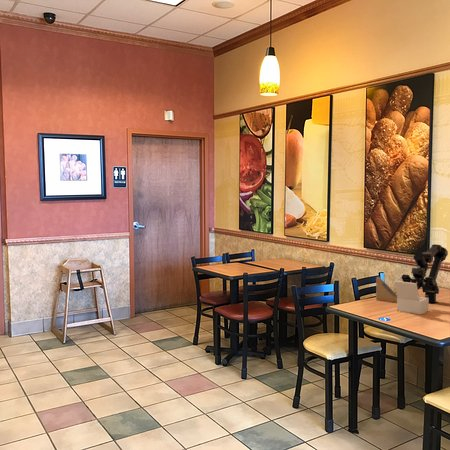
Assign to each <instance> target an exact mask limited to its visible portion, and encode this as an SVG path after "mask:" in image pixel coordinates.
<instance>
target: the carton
mask: <svg viewBox="0 0 450 450" xmlns="http://www.w3.org/2000/svg"><path fill="white" fill-rule="evenodd" d="M419 299H420V301H415V300H408V299H401V298H397V302H396V312H399V311H400V312H401V313H405V312H406V314H413V315H418V316H422V315H423V314H426V313H427V312H429V305H430V303H429V298H428V297H425V296H420V295H419Z"/></svg>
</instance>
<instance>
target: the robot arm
mask: <svg viewBox="0 0 450 450" xmlns="http://www.w3.org/2000/svg"><path fill="white" fill-rule="evenodd" d="M448 252H449V251H448V250H447V248H446V247H444V246H442V245H441V244H434V243H433V244H432V245H431V247H429V249H428V250H426V251H425V252H422V251H418V252H417V253H415V254H414V255H413V261H414V263H415V265H416V266H417V267H412V268H411V274H412V276H410V274H406V273H405V274H404V273H403V274H402V275H401V277H400V278H401V280H402V282H409V283H417V288H418V290H420V289H422V290H421V291H422V293H425V294H424V297H428V298H429V304H438V302H439V301H437V295H439V293H440V289H439V287H438V283H437V279H438V274H439V273H440V272H439V271H440V269H441V265H442V262H444V261H445V260H446V258H447V257H448V254H449V253H448ZM431 263H432V265H431V268H430V271H429V274H428V276H427V271H428V270H429V264H431Z"/></svg>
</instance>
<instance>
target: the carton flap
mask: <svg viewBox="0 0 450 450" xmlns="http://www.w3.org/2000/svg"><path fill="white" fill-rule="evenodd" d="M393 282H394V287H395V291H396V295H397V297H398V298H401V299H408V300H415V301H420V299H419V296H420V295H419V289H418V288H417V283H411V282H410V283H409V282H403V281H400V280H394V281H393Z"/></svg>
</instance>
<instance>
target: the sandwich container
mask: <svg viewBox="0 0 450 450" xmlns="http://www.w3.org/2000/svg"><path fill="white" fill-rule="evenodd" d="M375 279H376V285H375V286H376V287H375V288H376V290H375V291H376V293H375V296H376V297H375V298H376V299H375V300H376V301H379V302H390V303H397V298H398V297H397V293H395V292H394V291H393V289H392V288H391V287H390V286H388V284H387V283H386V282H384V281H385V280H383V279H382V278H381V277H380V276H377V277H376V278H375Z"/></svg>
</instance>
